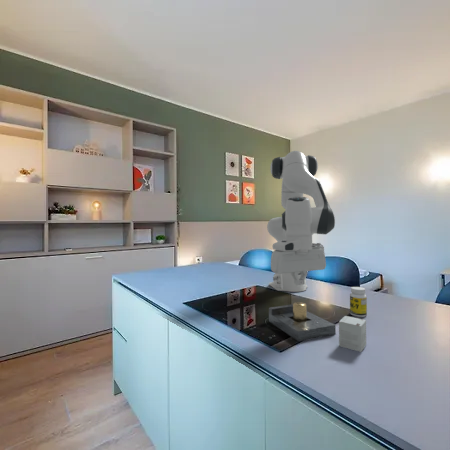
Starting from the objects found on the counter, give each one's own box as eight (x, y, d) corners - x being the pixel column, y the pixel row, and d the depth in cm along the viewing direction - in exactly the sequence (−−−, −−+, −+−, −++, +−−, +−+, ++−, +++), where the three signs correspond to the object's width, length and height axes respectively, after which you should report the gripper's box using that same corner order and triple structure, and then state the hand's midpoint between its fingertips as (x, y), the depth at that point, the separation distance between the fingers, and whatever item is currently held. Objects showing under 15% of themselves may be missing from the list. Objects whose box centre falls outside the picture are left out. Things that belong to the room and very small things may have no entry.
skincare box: (344, 339, 82) (344, 315, 82) (366, 344, 78) (366, 319, 78) (338, 346, 77) (338, 321, 77) (361, 352, 73) (361, 325, 73)
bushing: (298, 330, 89) (298, 306, 89) (290, 326, 93) (290, 303, 93) (309, 328, 90) (309, 305, 90) (301, 324, 94) (301, 301, 94)
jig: (269, 321, 98) (268, 307, 98) (301, 316, 102) (301, 303, 102) (298, 341, 81) (298, 325, 81) (335, 334, 85) (335, 318, 85)
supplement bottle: (346, 313, 105) (346, 287, 105) (357, 311, 107) (357, 285, 107) (358, 318, 99) (358, 290, 99) (370, 316, 101) (370, 289, 101)
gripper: (317, 242, 98) (318, 280, 98) (268, 244, 91) (268, 285, 91) (329, 243, 92) (330, 283, 92) (277, 246, 85) (278, 289, 85)
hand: (299, 284), depth 91 cm, fingers closed
